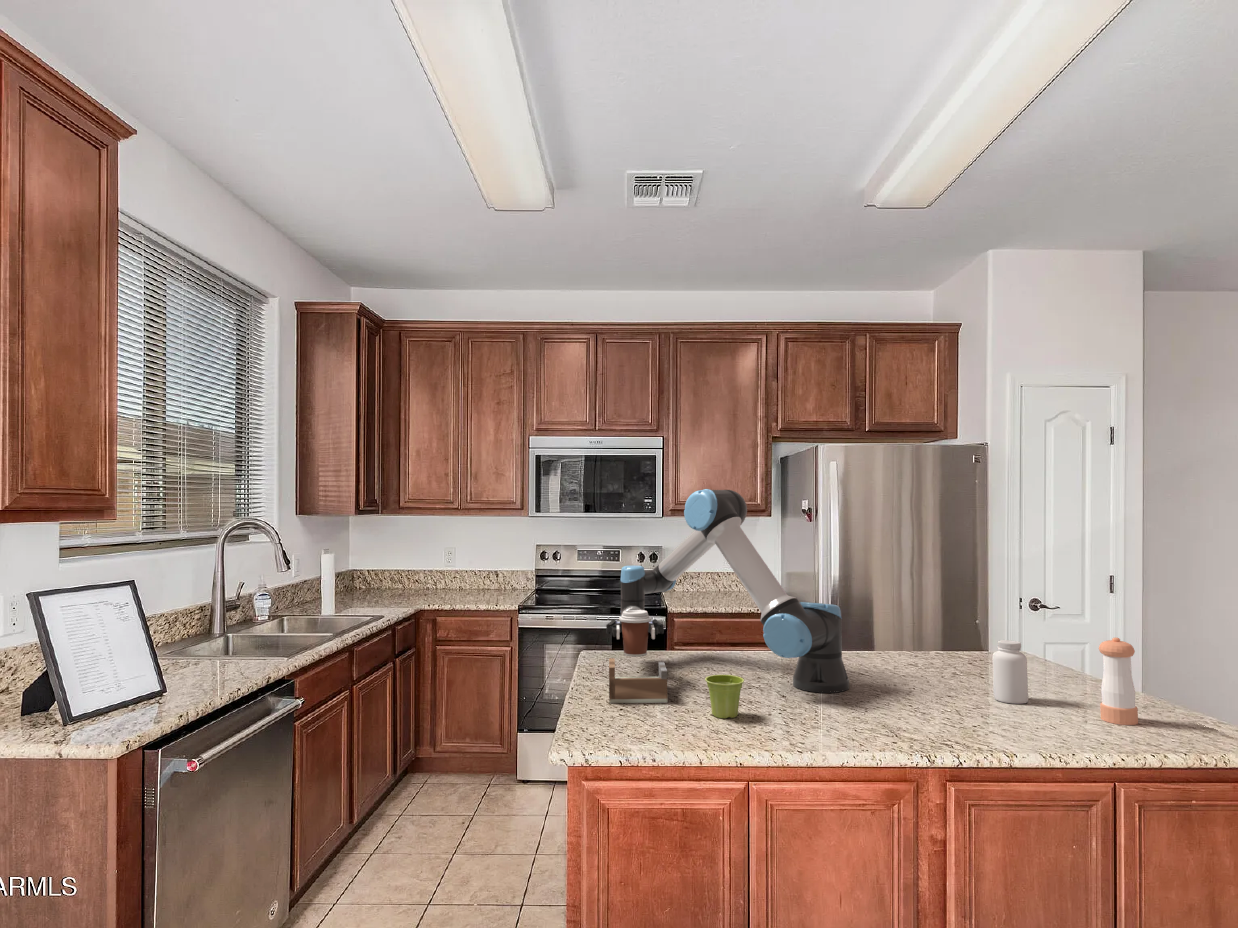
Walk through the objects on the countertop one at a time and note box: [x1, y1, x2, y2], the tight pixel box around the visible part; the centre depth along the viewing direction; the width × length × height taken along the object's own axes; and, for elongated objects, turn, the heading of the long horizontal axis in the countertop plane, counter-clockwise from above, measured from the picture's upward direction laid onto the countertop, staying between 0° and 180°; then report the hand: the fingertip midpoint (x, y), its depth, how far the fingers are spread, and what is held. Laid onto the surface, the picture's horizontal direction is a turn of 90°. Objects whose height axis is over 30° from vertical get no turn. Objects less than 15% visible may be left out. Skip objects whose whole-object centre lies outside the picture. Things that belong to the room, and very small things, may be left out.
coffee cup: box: [618, 609, 652, 658], centre depth 212 cm, size 9×9×12 cm
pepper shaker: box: [1098, 637, 1139, 726], centre depth 176 cm, size 7×7×19 cm
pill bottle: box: [991, 639, 1029, 705], centre depth 194 cm, size 8×8×15 cm
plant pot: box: [704, 674, 745, 719], centre depth 182 cm, size 9×9×9 cm
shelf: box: [608, 657, 668, 704], centre depth 206 cm, size 24×15×9 cm, turn 1°
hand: (635, 634), depth 207 cm, fingers closed on coffee cup, 9 cm apart
